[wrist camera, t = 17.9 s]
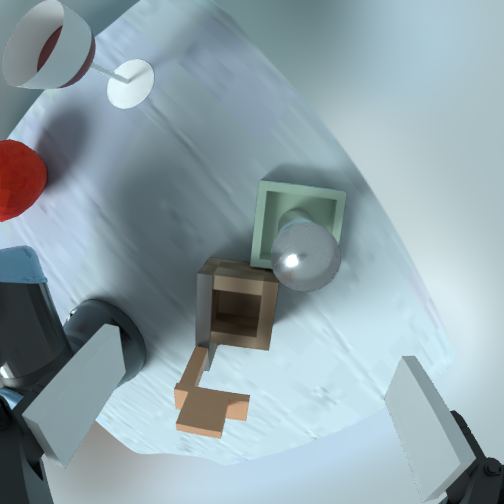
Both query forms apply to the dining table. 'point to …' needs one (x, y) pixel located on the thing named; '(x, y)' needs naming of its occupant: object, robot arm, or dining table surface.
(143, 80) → the wineglass
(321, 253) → the pin
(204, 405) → the keeper
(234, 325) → the block
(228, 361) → the dining table surface
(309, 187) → the dish
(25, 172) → the apple
